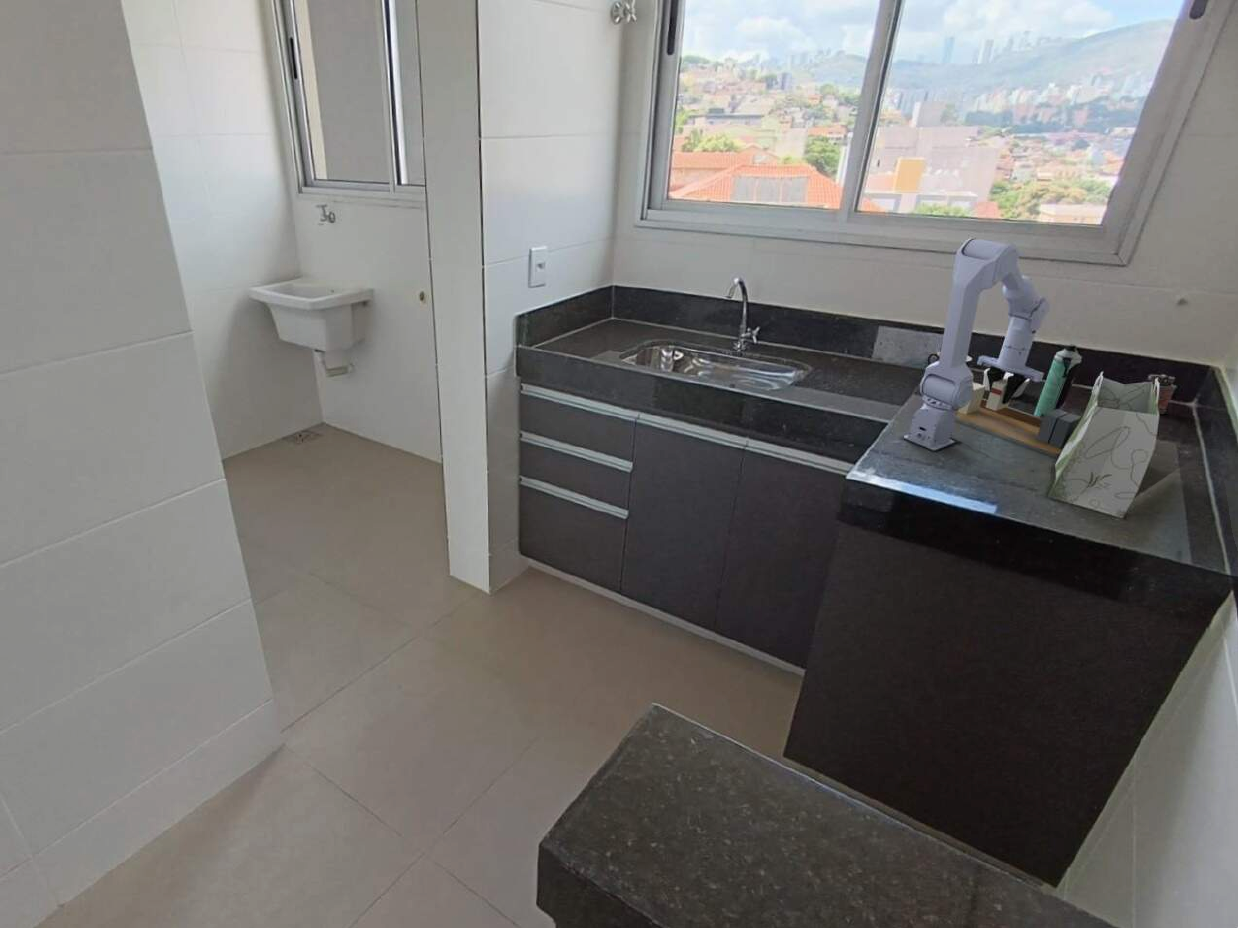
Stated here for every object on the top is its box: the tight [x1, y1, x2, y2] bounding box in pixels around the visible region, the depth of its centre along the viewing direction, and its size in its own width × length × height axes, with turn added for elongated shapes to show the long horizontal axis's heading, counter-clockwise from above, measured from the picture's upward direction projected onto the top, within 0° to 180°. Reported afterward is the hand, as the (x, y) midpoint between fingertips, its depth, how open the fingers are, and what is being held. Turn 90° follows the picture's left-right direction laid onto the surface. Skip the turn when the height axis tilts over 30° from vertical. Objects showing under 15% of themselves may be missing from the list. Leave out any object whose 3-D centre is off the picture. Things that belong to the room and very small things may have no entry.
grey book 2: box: [1049, 412, 1083, 448], centre depth 154 cm, size 6×3×6 cm, turn 126°
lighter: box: [1142, 374, 1177, 415], centre depth 178 cm, size 8×3×10 cm, turn 84°
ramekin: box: [982, 367, 1031, 399], centre depth 186 cm, size 11×11×5 cm
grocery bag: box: [1047, 371, 1160, 519], centre depth 137 cm, size 32×14×23 cm, turn 144°
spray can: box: [1033, 344, 1083, 418], centre depth 165 cm, size 6×6×20 cm
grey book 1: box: [1036, 409, 1069, 444], centre depth 156 cm, size 6×3×6 cm, turn 126°
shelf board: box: [956, 397, 1064, 456], centre depth 164 cm, size 14×31×3 cm, turn 36°
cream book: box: [986, 378, 1011, 411], centre depth 163 cm, size 6×3×6 cm, turn 126°
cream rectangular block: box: [958, 382, 986, 415], centre depth 169 cm, size 6×3×6 cm, turn 126°
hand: (998, 400), depth 164 cm, fingers closed on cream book, 2 cm apart
